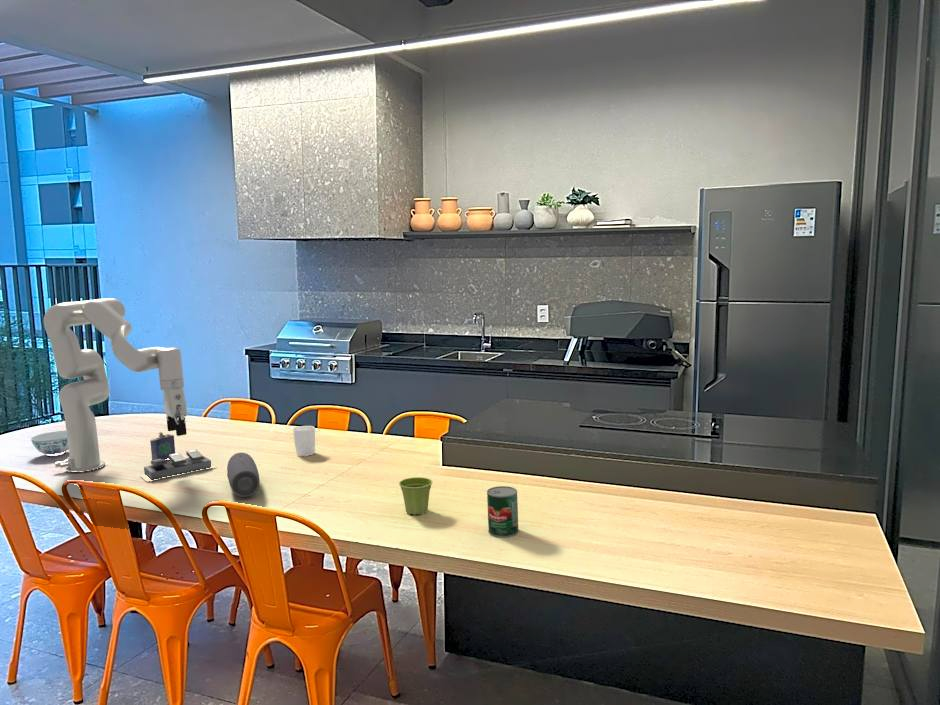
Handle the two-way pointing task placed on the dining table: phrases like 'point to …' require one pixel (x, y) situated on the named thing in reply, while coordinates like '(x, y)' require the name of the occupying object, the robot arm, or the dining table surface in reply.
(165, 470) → the power strip
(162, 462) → the rocker left
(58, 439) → the chinaware
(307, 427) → the white cup
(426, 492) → the plant pot
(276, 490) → the dining table surface
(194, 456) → the rocker right
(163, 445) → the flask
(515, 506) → the canned tomato
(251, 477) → the bluetooth speaker
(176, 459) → the rocker middle
